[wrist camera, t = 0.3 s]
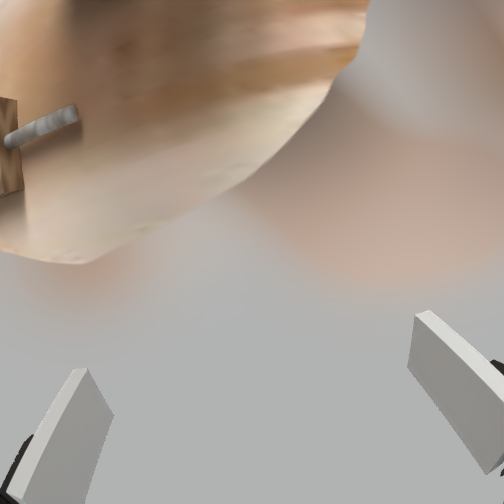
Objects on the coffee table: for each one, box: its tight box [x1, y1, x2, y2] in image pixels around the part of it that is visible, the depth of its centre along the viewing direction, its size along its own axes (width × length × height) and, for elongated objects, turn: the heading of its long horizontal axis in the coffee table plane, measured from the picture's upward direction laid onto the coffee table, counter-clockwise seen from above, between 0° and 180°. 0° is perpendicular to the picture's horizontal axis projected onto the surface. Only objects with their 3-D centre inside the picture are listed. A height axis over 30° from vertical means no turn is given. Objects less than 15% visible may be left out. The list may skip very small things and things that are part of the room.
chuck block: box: [0, 97, 78, 198], centre depth 28 cm, size 14×26×5 cm, turn 99°
